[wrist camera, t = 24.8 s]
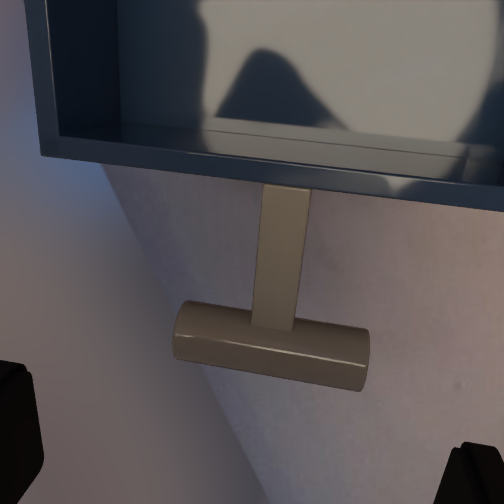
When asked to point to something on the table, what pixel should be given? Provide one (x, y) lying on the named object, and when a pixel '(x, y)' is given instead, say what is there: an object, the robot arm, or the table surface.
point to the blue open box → (279, 130)
